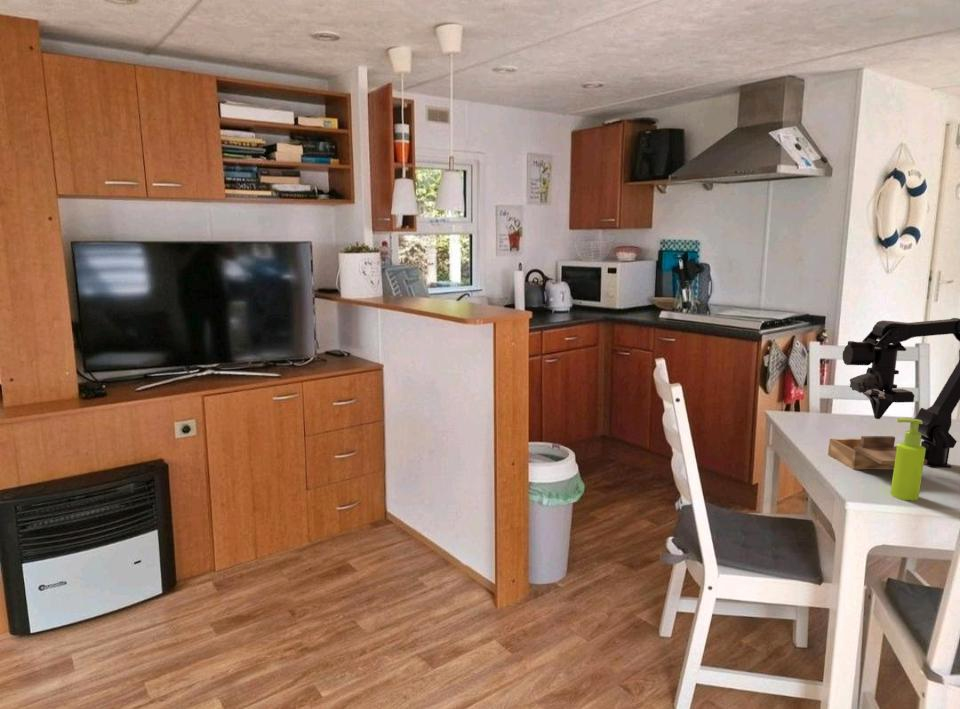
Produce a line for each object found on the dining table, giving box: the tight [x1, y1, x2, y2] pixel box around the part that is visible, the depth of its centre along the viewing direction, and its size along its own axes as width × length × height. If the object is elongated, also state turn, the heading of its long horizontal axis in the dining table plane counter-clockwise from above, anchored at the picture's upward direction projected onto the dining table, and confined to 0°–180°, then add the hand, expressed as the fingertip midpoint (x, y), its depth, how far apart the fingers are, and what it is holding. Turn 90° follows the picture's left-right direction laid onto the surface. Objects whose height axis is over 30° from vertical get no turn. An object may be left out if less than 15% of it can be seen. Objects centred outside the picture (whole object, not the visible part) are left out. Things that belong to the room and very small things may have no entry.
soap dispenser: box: [890, 417, 926, 502], centre depth 160 cm, size 6×7×20 cm
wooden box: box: [827, 438, 895, 470], centre depth 186 cm, size 13×12×5 cm
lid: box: [854, 435, 928, 465], centre depth 174 cm, size 13×12×4 cm
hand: (877, 418), depth 184 cm, fingers closed
